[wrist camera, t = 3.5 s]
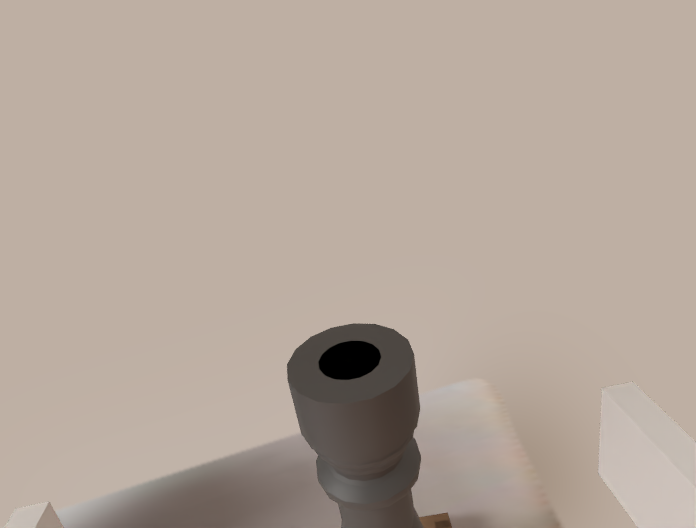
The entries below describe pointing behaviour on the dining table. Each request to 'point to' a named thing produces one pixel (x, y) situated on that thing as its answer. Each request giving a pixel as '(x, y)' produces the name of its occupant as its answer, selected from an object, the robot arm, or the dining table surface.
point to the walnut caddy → (436, 521)
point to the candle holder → (361, 421)
